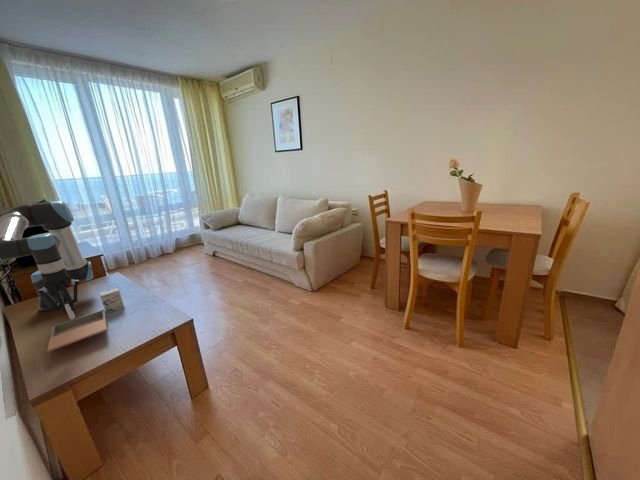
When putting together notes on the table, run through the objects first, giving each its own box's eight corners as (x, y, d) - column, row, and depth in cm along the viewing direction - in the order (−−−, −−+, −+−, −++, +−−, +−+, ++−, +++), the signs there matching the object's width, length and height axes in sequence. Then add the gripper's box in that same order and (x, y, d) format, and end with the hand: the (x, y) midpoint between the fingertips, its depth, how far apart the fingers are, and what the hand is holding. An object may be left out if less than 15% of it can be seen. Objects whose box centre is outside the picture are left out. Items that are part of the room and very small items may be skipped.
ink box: (106, 314, 143) (100, 295, 139) (105, 311, 146) (99, 292, 143) (124, 307, 149) (119, 289, 145) (123, 304, 152) (117, 287, 148)
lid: (47, 350, 107) (47, 352, 108) (106, 328, 120) (107, 330, 120) (50, 337, 117) (50, 339, 117) (105, 318, 130) (105, 320, 130)
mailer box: (55, 333, 128) (52, 326, 127) (106, 316, 141) (103, 309, 139) (54, 346, 119) (50, 338, 117) (108, 326, 131) (105, 319, 130)
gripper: (29, 278, 101) (51, 328, 108) (73, 268, 109) (91, 315, 117) (31, 272, 106) (52, 320, 113) (73, 263, 114) (90, 308, 122)
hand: (72, 317), depth 115 cm, fingers closed
